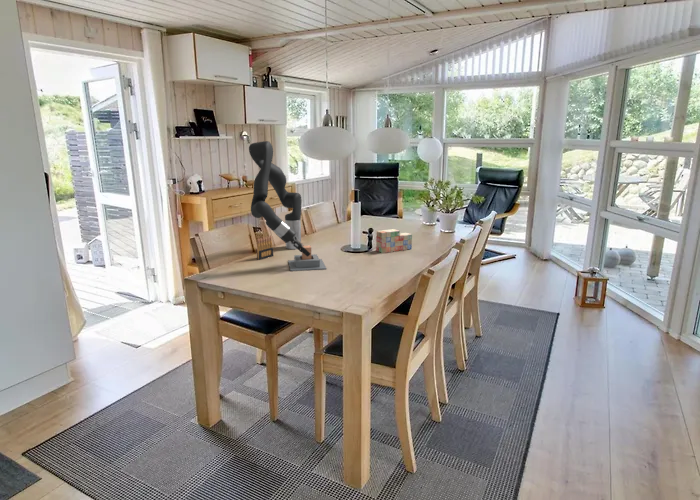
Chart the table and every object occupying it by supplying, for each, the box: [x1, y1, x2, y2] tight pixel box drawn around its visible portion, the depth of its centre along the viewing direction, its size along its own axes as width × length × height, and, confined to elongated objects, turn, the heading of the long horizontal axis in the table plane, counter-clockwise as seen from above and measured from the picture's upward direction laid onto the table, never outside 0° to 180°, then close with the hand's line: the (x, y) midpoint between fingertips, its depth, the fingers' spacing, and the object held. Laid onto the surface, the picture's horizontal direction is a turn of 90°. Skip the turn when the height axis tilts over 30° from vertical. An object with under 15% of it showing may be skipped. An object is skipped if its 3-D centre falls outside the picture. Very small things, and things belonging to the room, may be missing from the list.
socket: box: [287, 253, 327, 272], centre depth 230 cm, size 18×18×4 cm
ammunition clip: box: [256, 235, 274, 261], centre depth 243 cm, size 11×2×12 cm, turn 143°
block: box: [301, 245, 312, 260], centre depth 229 cm, size 4×4×8 cm
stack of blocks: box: [375, 228, 413, 254], centre depth 262 cm, size 21×6×12 cm, turn 117°
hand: (308, 253), depth 229 cm, fingers closed on block, 4 cm apart
